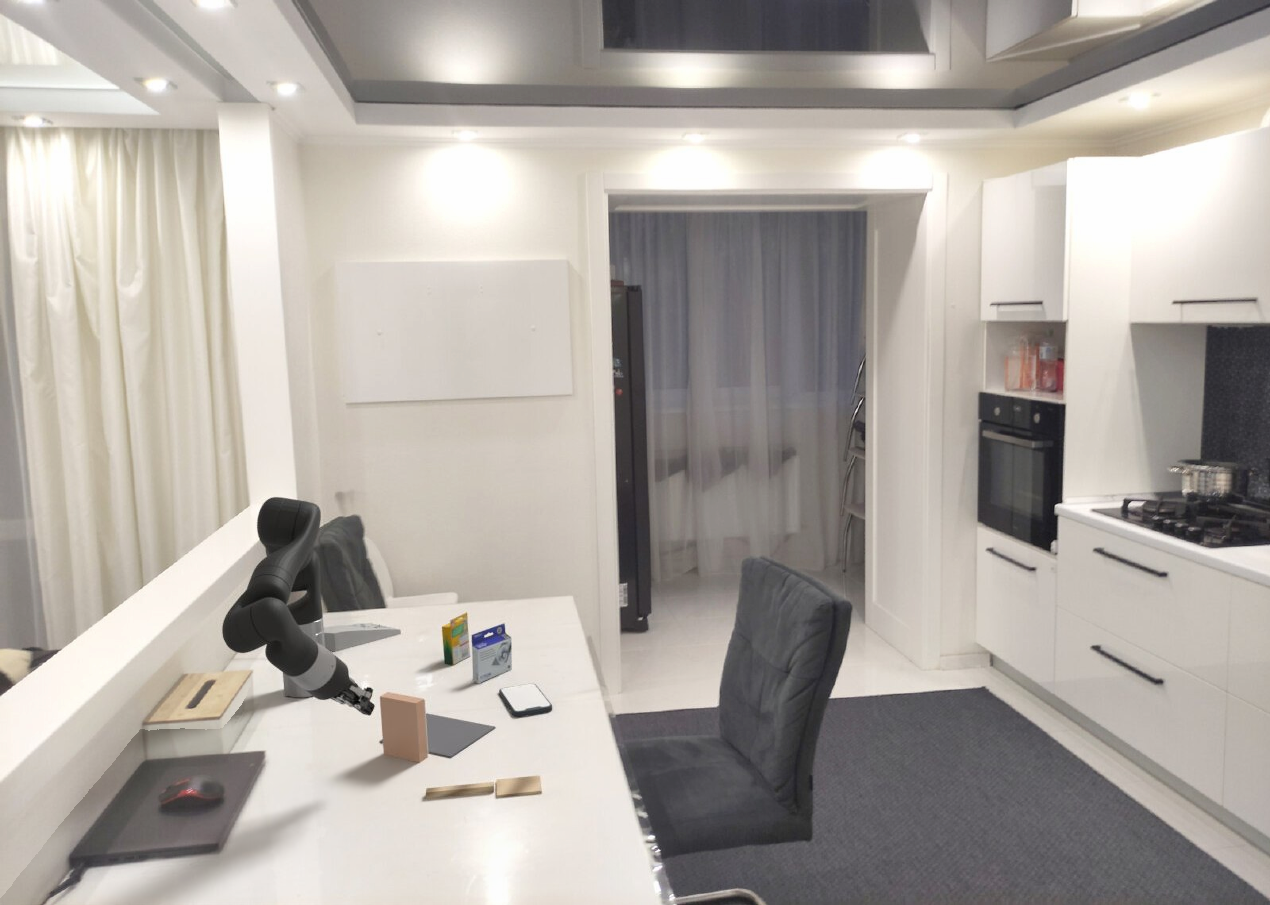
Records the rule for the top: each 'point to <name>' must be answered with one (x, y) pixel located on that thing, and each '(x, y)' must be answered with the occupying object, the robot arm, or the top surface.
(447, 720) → the mat
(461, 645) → the crayon box
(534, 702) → the phone case
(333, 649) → the ramp
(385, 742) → the tile
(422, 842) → the top surface
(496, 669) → the ink box
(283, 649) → the robot arm
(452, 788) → the turner
